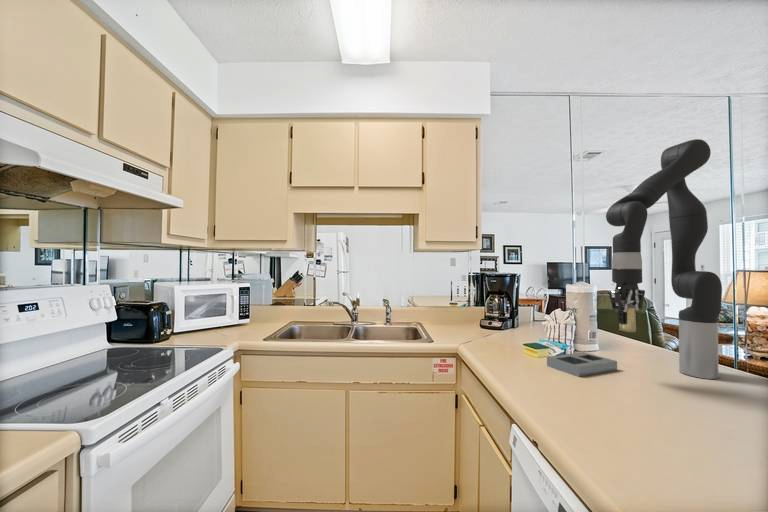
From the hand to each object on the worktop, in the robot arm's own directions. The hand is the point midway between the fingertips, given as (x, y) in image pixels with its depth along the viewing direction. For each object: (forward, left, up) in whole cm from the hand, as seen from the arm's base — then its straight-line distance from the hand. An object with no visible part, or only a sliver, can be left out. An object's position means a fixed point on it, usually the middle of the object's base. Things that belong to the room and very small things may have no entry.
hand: (627, 323), depth 102 cm
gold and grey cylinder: (0, 0, -2) cm, 2 cm away
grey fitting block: (+3, -13, -17) cm, 22 cm away
